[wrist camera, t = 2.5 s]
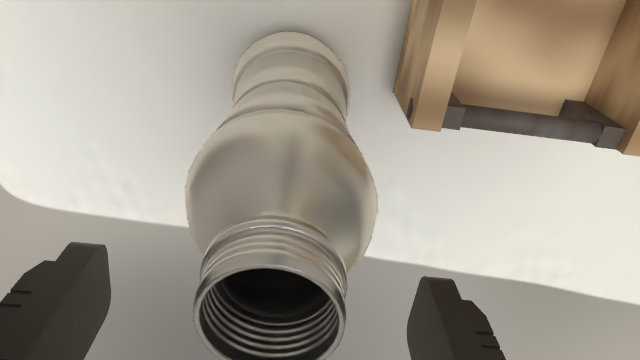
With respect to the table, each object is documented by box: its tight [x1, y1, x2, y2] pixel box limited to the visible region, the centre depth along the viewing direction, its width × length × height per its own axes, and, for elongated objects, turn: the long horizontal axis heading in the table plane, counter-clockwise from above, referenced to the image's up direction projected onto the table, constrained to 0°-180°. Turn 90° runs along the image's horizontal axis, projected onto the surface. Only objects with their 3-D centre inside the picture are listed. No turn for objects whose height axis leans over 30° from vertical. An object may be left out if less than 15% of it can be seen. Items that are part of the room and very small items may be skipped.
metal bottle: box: [185, 32, 378, 360], centre depth 20 cm, size 6×7×20 cm
